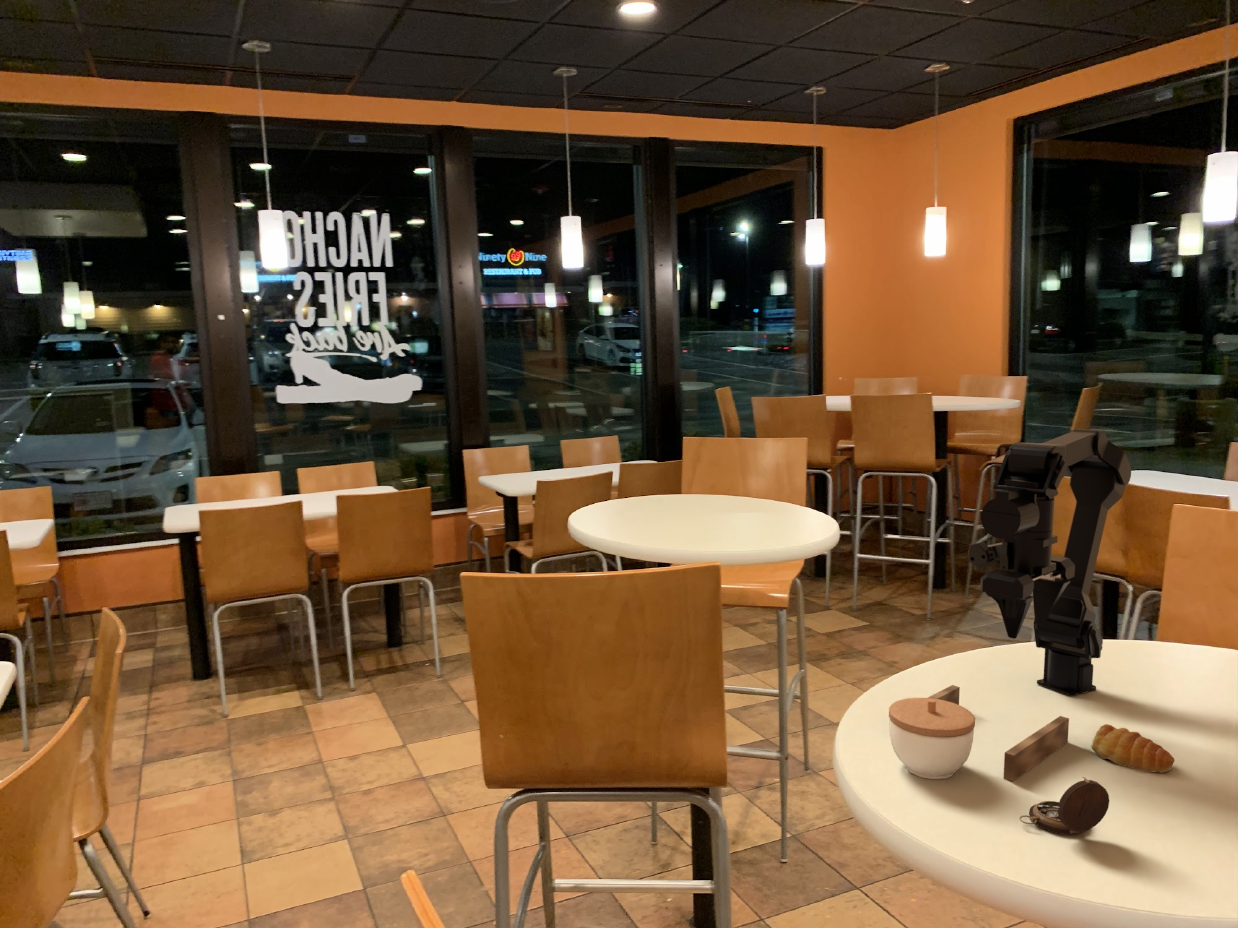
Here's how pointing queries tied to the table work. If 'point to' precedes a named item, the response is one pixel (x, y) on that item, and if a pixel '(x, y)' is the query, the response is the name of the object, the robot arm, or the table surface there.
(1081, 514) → the robot arm
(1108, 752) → the pastry
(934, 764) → the lidded jar
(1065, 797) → the compass
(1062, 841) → the table surface
